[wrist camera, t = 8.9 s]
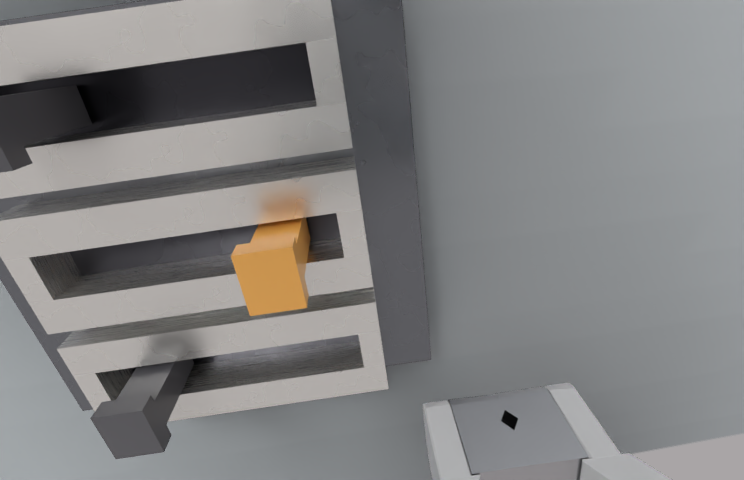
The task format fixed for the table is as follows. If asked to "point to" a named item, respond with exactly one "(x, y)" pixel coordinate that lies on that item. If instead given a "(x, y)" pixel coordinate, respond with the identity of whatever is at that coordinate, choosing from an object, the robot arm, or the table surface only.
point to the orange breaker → (274, 267)
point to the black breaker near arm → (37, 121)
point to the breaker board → (217, 196)
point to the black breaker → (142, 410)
